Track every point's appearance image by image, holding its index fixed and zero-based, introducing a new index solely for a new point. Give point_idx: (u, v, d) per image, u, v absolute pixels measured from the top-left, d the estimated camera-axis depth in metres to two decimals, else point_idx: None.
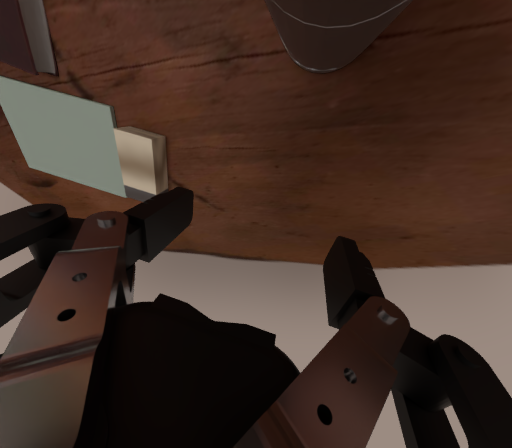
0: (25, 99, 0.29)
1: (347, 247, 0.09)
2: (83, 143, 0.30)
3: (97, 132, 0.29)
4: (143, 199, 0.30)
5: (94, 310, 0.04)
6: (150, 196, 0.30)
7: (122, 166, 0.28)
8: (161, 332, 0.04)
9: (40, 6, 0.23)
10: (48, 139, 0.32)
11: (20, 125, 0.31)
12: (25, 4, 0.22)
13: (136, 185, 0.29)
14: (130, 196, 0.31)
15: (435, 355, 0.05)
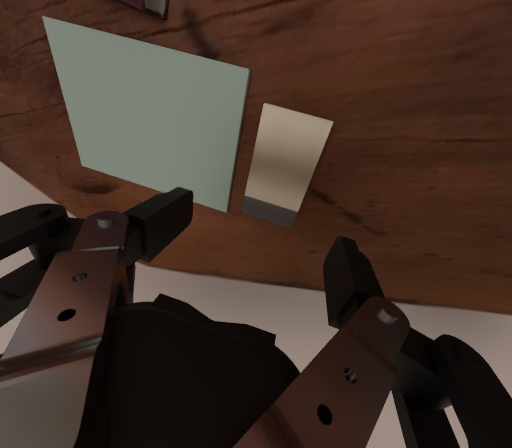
0: (100, 60, 0.18)
1: (347, 247, 0.09)
2: (180, 131, 0.20)
3: (211, 113, 0.18)
4: (270, 217, 0.20)
5: (95, 309, 0.04)
6: (285, 213, 0.19)
7: (254, 167, 0.18)
8: (161, 332, 0.04)
9: None
10: (123, 125, 0.21)
11: (81, 103, 0.21)
12: None
13: (267, 196, 0.19)
14: (249, 212, 0.20)
15: (435, 355, 0.05)
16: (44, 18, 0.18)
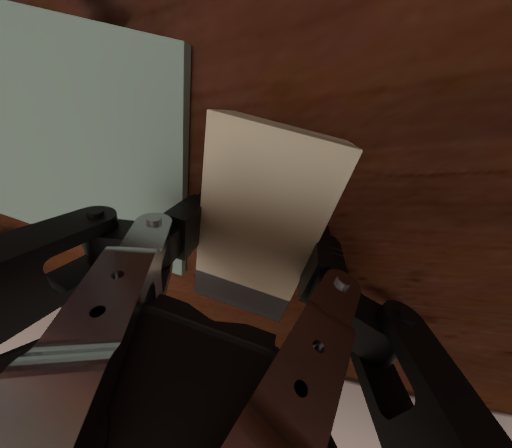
0: None
1: None
2: (90, 157, 0.12)
3: (131, 128, 0.10)
4: (243, 304, 0.12)
5: (121, 312, 0.04)
6: (268, 301, 0.11)
7: (205, 228, 0.09)
8: (161, 332, 0.04)
9: None
10: (4, 146, 0.13)
11: None
12: None
13: (234, 275, 0.11)
14: (207, 293, 0.12)
15: (383, 321, 0.06)
16: None
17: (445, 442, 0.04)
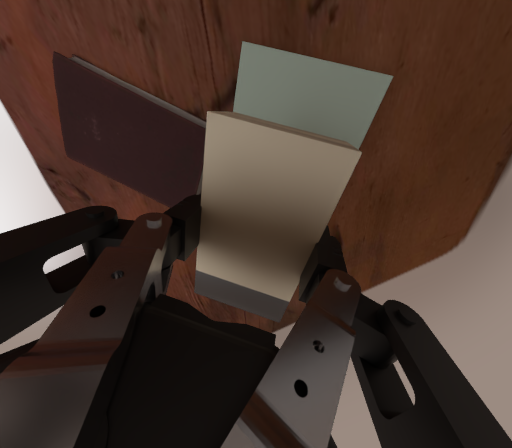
0: None
1: None
2: None
3: (275, 89, 0.19)
4: (243, 304, 0.12)
5: (122, 311, 0.04)
6: (268, 302, 0.11)
7: (205, 229, 0.09)
8: (161, 332, 0.04)
9: (167, 104, 0.23)
10: None
11: None
12: (161, 106, 0.22)
13: (234, 275, 0.11)
14: (207, 294, 0.12)
15: (383, 321, 0.06)
16: None
17: (445, 442, 0.04)
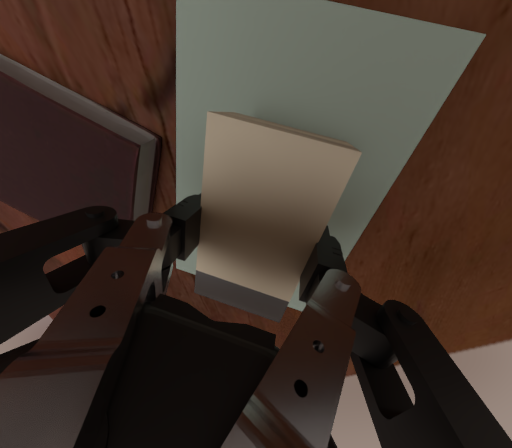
0: None
1: None
2: None
3: (244, 66, 0.10)
4: (243, 304, 0.12)
5: (121, 311, 0.04)
6: (268, 302, 0.11)
7: (205, 229, 0.09)
8: (161, 332, 0.04)
9: (74, 95, 0.14)
10: None
11: None
12: (57, 99, 0.13)
13: (234, 275, 0.11)
14: (207, 294, 0.12)
15: (383, 321, 0.06)
16: (178, 267, 0.20)
17: (445, 442, 0.04)
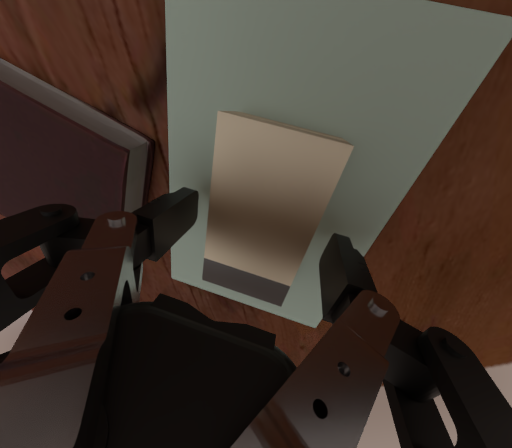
0: (195, 239, 0.15)
1: (341, 243, 0.09)
2: None
3: (242, 61, 0.09)
4: (247, 290, 0.13)
5: (100, 309, 0.04)
6: (270, 287, 0.12)
7: (214, 218, 0.10)
8: (161, 332, 0.04)
9: (59, 93, 0.13)
10: None
11: None
12: (39, 97, 0.12)
13: (239, 262, 0.11)
14: (214, 281, 0.13)
15: (424, 347, 0.05)
16: (173, 277, 0.19)
17: None
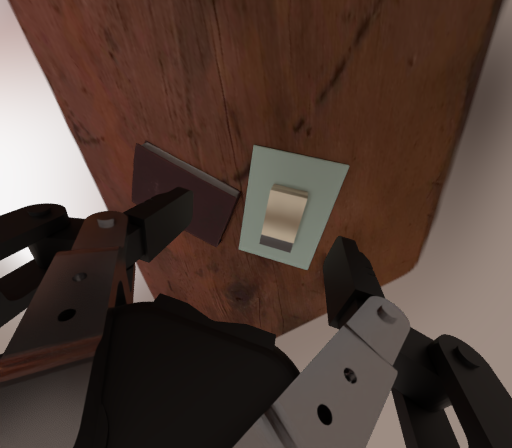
0: (252, 229, 0.36)
1: (347, 247, 0.09)
2: None
3: (275, 170, 0.30)
4: (277, 246, 0.33)
5: (94, 310, 0.04)
6: (286, 244, 0.32)
7: (266, 219, 0.31)
8: (161, 332, 0.04)
9: (206, 174, 0.34)
10: None
11: (271, 250, 0.37)
12: (203, 178, 0.33)
13: (274, 235, 0.32)
14: (264, 244, 0.33)
15: (435, 355, 0.05)
16: (239, 248, 0.39)
17: None
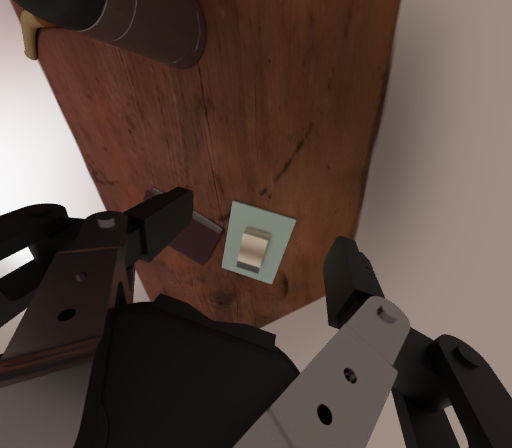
0: (232, 254, 0.49)
1: (347, 247, 0.09)
2: None
3: (247, 218, 0.43)
4: (248, 269, 0.46)
5: (95, 310, 0.04)
6: (255, 268, 0.45)
7: (241, 251, 0.44)
8: (161, 332, 0.04)
9: (198, 215, 0.46)
10: None
11: None
12: (196, 218, 0.45)
13: (246, 261, 0.45)
14: (239, 267, 0.46)
15: (435, 355, 0.05)
16: (222, 267, 0.52)
17: None
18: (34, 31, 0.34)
